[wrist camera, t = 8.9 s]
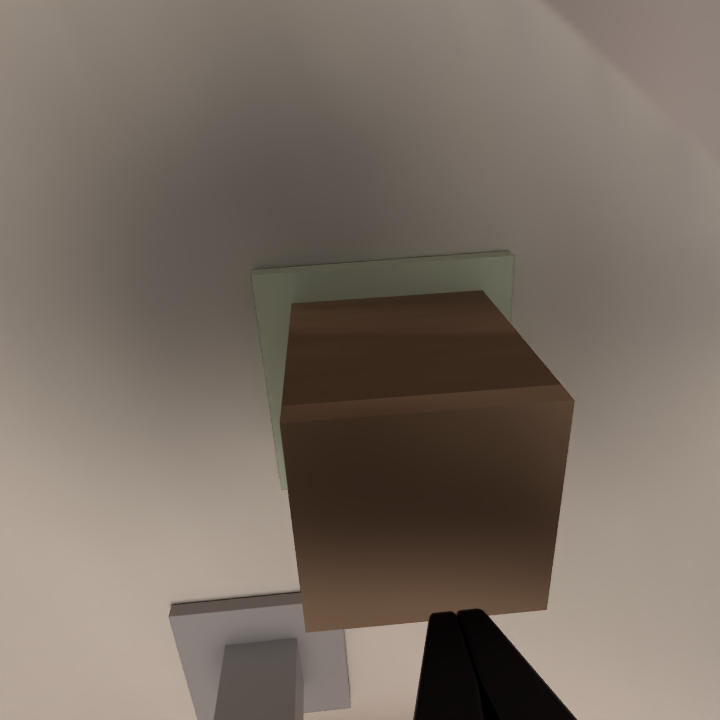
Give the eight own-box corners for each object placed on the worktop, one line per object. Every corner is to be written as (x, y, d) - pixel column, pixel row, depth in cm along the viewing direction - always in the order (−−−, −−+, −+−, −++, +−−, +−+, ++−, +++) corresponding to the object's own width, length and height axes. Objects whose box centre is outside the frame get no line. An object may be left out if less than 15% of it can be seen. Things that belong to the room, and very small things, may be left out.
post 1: (339, 588, 21) (345, 694, 17) (349, 695, 23) (356, 807, 20) (171, 605, 20) (141, 716, 17) (201, 711, 23) (180, 827, 19)
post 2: (508, 250, 16) (611, 336, 10) (496, 460, 19) (570, 612, 13) (252, 270, 15) (219, 368, 10) (282, 480, 18) (269, 642, 13)
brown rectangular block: (475, 449, 18) (546, 610, 12) (307, 463, 18) (306, 632, 12) (482, 290, 16) (574, 400, 10) (291, 303, 15) (279, 423, 10)
